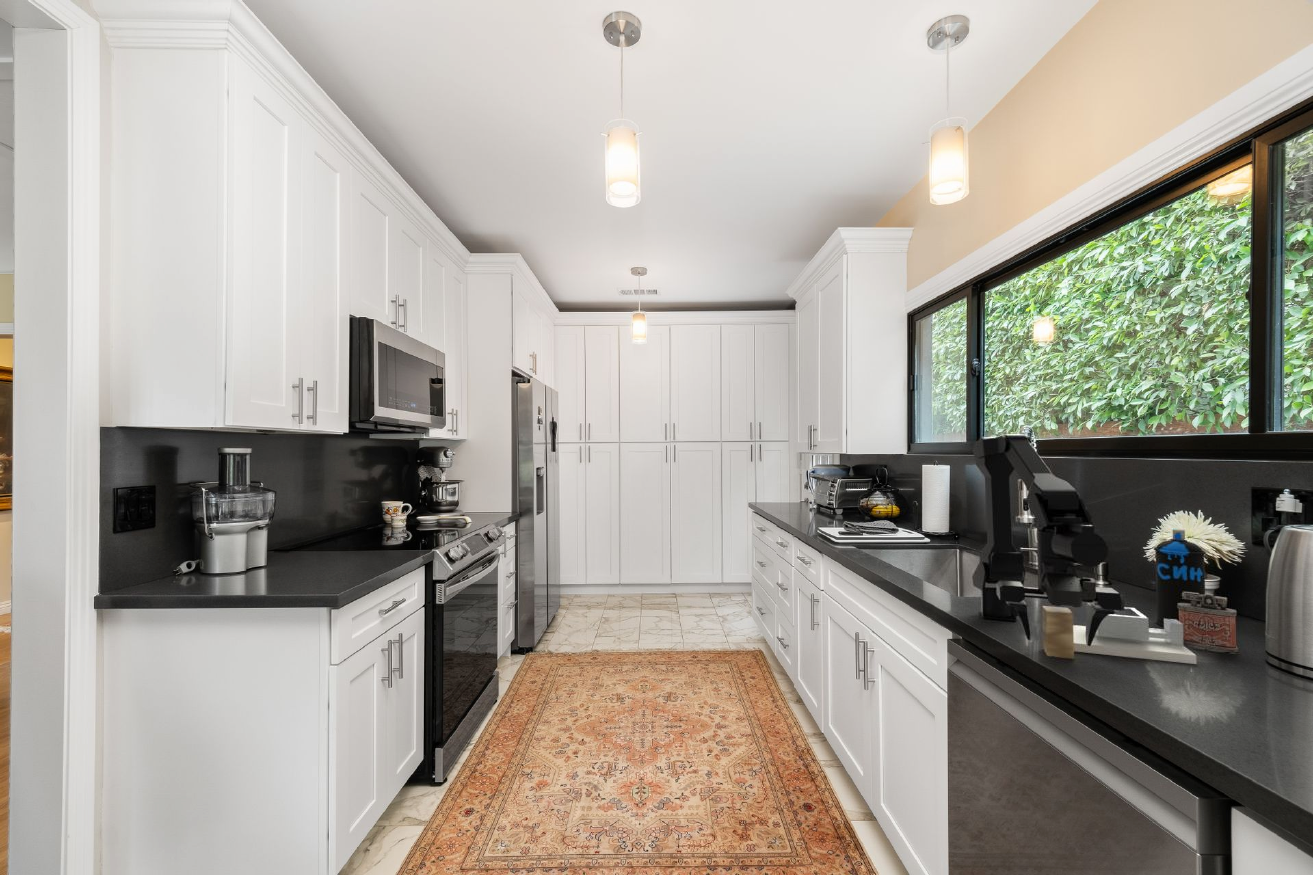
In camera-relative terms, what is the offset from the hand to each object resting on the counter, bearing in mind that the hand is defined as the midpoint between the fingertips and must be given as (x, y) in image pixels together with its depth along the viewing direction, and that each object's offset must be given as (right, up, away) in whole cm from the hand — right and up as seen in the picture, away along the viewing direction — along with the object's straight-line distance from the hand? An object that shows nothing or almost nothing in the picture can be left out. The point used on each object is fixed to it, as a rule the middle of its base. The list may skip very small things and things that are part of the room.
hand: (1057, 642), depth 108 cm
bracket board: (+14, -2, +4) cm, 14 cm away
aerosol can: (+36, -2, +16) cm, 40 cm away
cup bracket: (+16, 0, +3) cm, 16 cm away
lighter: (+29, -2, +2) cm, 30 cm away
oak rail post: (0, -2, 0) cm, 2 cm away
